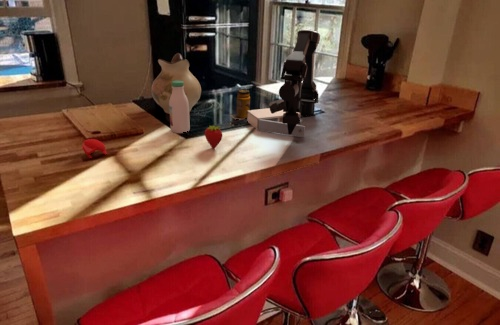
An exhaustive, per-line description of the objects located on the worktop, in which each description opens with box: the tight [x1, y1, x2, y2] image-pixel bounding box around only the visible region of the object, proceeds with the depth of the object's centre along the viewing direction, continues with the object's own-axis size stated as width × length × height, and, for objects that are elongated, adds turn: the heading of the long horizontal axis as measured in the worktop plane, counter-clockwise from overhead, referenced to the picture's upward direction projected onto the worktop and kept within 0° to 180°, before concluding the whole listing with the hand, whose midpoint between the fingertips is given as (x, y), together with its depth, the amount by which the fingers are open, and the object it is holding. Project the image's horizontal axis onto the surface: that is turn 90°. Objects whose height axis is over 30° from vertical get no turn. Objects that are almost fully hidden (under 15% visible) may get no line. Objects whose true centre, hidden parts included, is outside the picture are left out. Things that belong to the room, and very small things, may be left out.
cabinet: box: [246, 107, 301, 130], centre depth 163 cm, size 20×11×5 cm, turn 113°
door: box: [256, 119, 306, 138], centre depth 150 cm, size 20×2×5 cm, turn 68°
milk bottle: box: [169, 81, 191, 134], centre depth 149 cm, size 8×8×20 cm
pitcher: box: [151, 52, 202, 115], centre depth 172 cm, size 22×24×25 cm
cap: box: [81, 138, 108, 159], centre depth 128 cm, size 8×6×6 cm
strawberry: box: [204, 121, 223, 149], centre depth 135 cm, size 6×8×10 cm
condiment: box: [229, 89, 251, 121], centre depth 168 cm, size 7×8×12 cm
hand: (289, 133), depth 144 cm, fingers closed
